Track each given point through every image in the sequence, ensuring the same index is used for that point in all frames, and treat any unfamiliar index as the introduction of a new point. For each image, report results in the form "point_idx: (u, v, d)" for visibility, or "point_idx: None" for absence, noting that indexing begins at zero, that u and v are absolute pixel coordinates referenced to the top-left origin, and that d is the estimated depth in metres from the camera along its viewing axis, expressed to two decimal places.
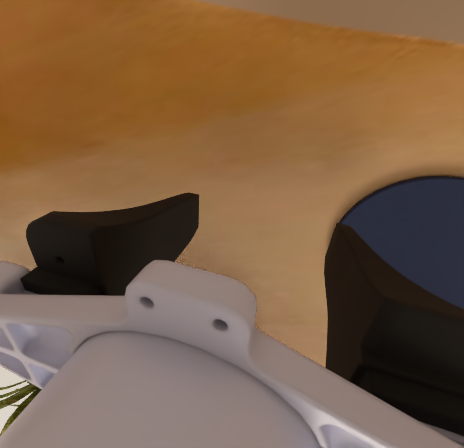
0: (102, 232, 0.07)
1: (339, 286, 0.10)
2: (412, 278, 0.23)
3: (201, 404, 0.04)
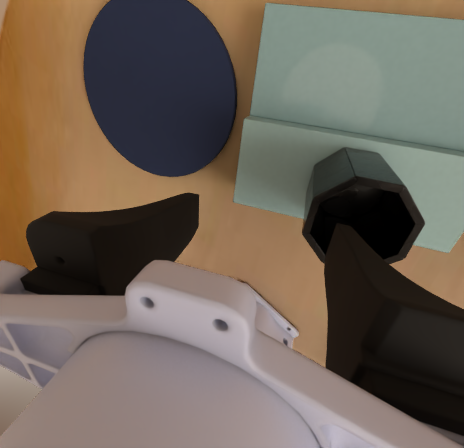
0: (102, 232, 0.07)
1: (339, 286, 0.10)
2: (176, 112, 0.22)
3: (201, 404, 0.04)
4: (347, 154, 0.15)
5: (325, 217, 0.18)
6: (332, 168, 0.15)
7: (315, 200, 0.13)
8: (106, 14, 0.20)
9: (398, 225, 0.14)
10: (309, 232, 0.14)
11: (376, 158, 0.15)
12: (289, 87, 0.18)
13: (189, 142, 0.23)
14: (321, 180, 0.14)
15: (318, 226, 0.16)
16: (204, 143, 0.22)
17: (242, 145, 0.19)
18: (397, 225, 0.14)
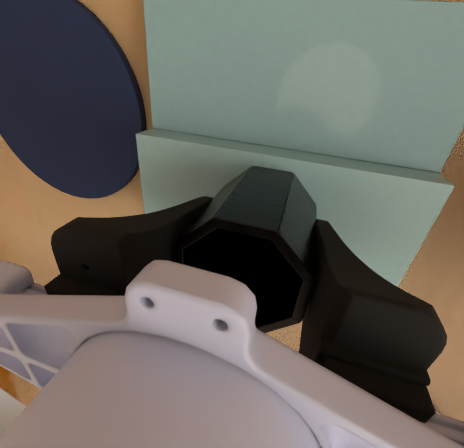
0: (130, 239, 0.07)
1: None
2: (81, 126, 0.19)
3: (201, 404, 0.04)
4: (244, 176, 0.12)
5: (241, 250, 0.15)
6: (220, 197, 0.11)
7: (177, 246, 0.10)
8: None
9: None
10: None
11: (279, 182, 0.12)
12: (189, 93, 0.14)
13: (101, 159, 0.20)
14: (201, 214, 0.11)
15: (215, 268, 0.13)
16: (117, 160, 0.19)
17: (140, 165, 0.15)
18: None
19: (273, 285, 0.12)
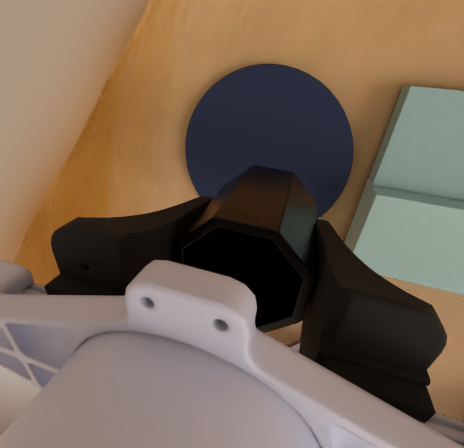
0: (130, 239, 0.07)
1: None
2: None
3: (201, 404, 0.04)
4: (245, 176, 0.12)
5: (241, 249, 0.15)
6: (220, 196, 0.11)
7: (177, 246, 0.10)
8: (221, 87, 0.20)
9: None
10: None
11: (280, 181, 0.12)
12: (423, 162, 0.17)
13: None
14: (201, 214, 0.11)
15: (215, 268, 0.12)
16: None
17: (368, 217, 0.18)
18: None
19: (273, 284, 0.12)
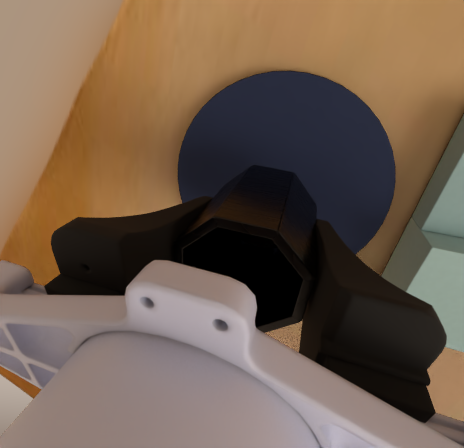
0: (130, 239, 0.07)
1: None
2: None
3: (201, 404, 0.04)
4: (244, 176, 0.12)
5: (241, 249, 0.15)
6: (220, 196, 0.11)
7: (176, 245, 0.10)
8: (222, 100, 0.15)
9: None
10: None
11: (279, 181, 0.12)
12: None
13: None
14: (201, 214, 0.11)
15: (215, 268, 0.12)
16: None
17: (418, 275, 0.14)
18: None
19: (273, 284, 0.12)
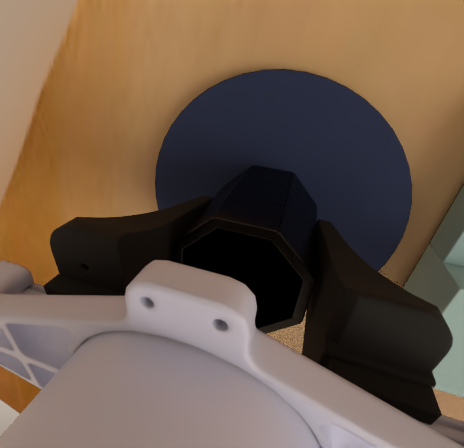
0: (129, 239, 0.07)
1: (316, 280, 0.10)
2: None
3: (201, 404, 0.04)
4: (244, 176, 0.12)
5: (241, 250, 0.15)
6: (220, 197, 0.11)
7: (176, 246, 0.09)
8: (203, 105, 0.13)
9: None
10: None
11: (280, 181, 0.12)
12: None
13: None
14: (201, 214, 0.11)
15: (215, 268, 0.12)
16: None
17: None
18: None
19: (273, 285, 0.12)
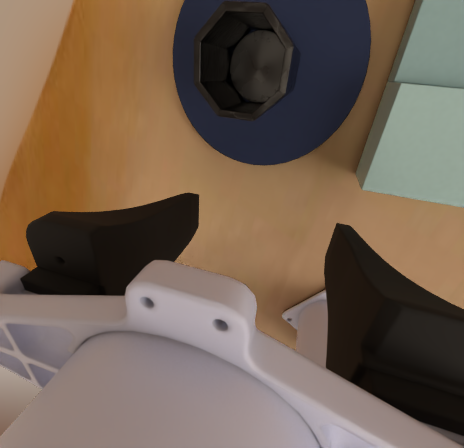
0: (102, 232, 0.07)
1: (339, 286, 0.10)
2: None
3: (201, 404, 0.04)
4: None
5: (242, 101, 0.19)
6: None
7: (196, 39, 0.13)
8: None
9: None
10: (199, 81, 0.14)
11: None
12: (458, 42, 0.14)
13: (297, 122, 0.19)
14: None
15: (222, 93, 0.16)
16: (316, 122, 0.19)
17: (390, 117, 0.15)
18: None
19: None
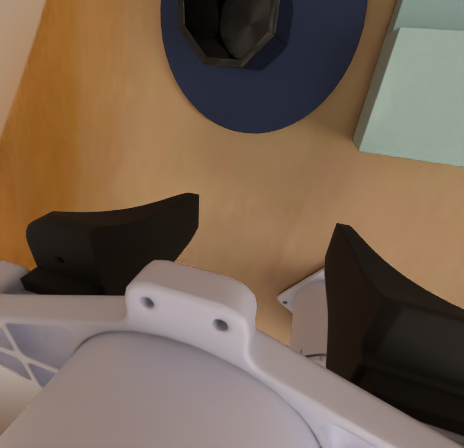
0: (102, 232, 0.07)
1: (339, 286, 0.10)
2: None
3: (201, 404, 0.04)
4: None
5: None
6: None
7: None
8: None
9: None
10: (183, 24, 0.13)
11: None
12: None
13: (290, 83, 0.18)
14: None
15: (210, 44, 0.15)
16: (311, 83, 0.18)
17: (389, 67, 0.14)
18: None
19: None
